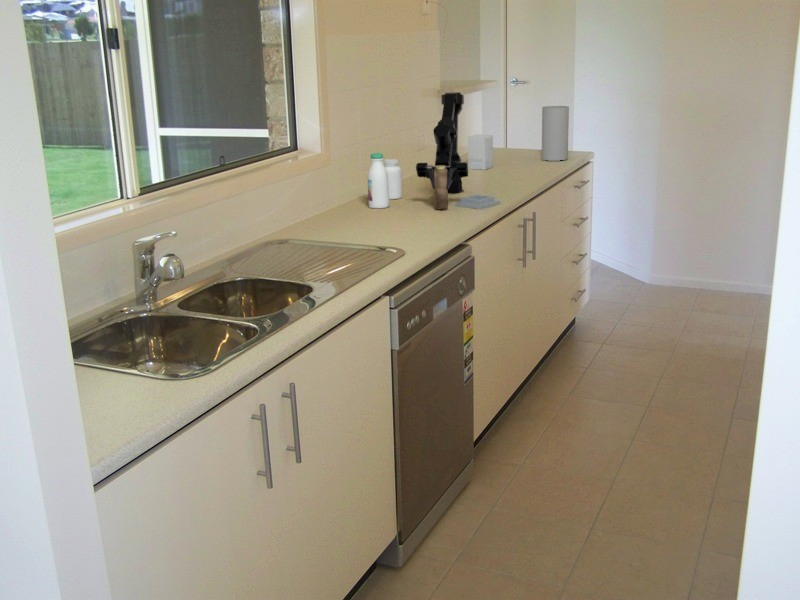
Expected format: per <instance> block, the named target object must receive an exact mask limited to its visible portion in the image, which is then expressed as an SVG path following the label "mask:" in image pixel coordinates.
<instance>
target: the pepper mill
mask: <svg viewBox="0 0 800 600" xmlns="http://www.w3.org/2000/svg"><path fill="white" fill-rule="evenodd" d="M434 166H435V165H434ZM435 167H436V169H434V189H433V190H434V208H435V209H439V210H444V209H448V208H449V196H448V195H449V193H448V189H447V169H446V168H445V165H437V166H435Z"/></svg>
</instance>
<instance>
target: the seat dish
mask: <svg viewBox="0 0 800 600" xmlns="http://www.w3.org/2000/svg"><path fill="white" fill-rule="evenodd" d="M494 205H495V206H498V205H501V200H498V199H496V197H495V196H492V195H483V194H477V193H475V194H471V195H467V196H464V197H461V198H460V201H456V202H454V206H455V207H460V206H461V207H462V208H467V207H470V208H469V209H474V208H477V209H476V210H484V209H487V207H488V208H490V207H494ZM461 207H460V208H461ZM483 208H484V209H483Z"/></svg>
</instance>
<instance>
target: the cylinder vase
mask: <svg viewBox="0 0 800 600" xmlns="http://www.w3.org/2000/svg"><path fill="white" fill-rule="evenodd" d="M541 109H542V110H541V112H542V113H541V114H542V115H541V160H542V159H543V161H544V160H548V161H547V162H561V161H560V160H564V161H566V159H567V160H568V159H569V123H570V122H569V119H570V117H569V116H570V114H569V113H570V106H567V105H548V106H546V105H545V106H543V107H541Z"/></svg>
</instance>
